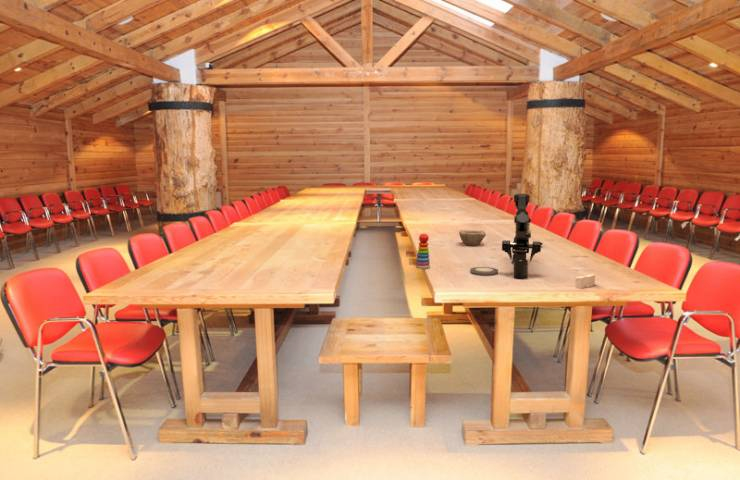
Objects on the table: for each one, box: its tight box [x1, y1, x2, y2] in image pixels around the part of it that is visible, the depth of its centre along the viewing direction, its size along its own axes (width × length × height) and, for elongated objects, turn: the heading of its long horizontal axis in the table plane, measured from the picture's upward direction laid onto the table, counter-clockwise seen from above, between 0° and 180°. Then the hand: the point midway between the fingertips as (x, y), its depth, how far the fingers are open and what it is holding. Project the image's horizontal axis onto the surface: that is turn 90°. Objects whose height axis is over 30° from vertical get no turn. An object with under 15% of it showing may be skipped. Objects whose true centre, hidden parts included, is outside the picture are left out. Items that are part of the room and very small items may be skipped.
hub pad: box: [469, 266, 499, 277], centre depth 280 cm, size 14×14×2 cm
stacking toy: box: [414, 232, 431, 270], centre depth 291 cm, size 8×8×19 cm
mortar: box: [458, 229, 487, 247], centre depth 360 cm, size 17×17×9 cm
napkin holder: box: [575, 273, 596, 290], centre depth 251 cm, size 15×11×6 cm
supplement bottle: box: [512, 253, 529, 280], centre depth 268 cm, size 7×7×12 cm
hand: (520, 260), depth 268 cm, fingers open, 9 cm apart
